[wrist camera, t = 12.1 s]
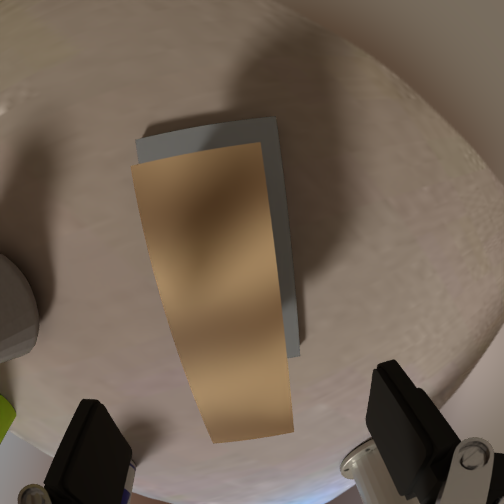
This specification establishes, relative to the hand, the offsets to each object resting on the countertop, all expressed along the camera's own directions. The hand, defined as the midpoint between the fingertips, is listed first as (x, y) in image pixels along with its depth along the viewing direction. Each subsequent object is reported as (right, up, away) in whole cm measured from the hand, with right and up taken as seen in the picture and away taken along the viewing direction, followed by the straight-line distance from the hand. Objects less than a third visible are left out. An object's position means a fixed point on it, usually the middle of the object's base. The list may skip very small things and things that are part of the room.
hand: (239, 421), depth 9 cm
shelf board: (-1, +3, +9) cm, 10 cm away
